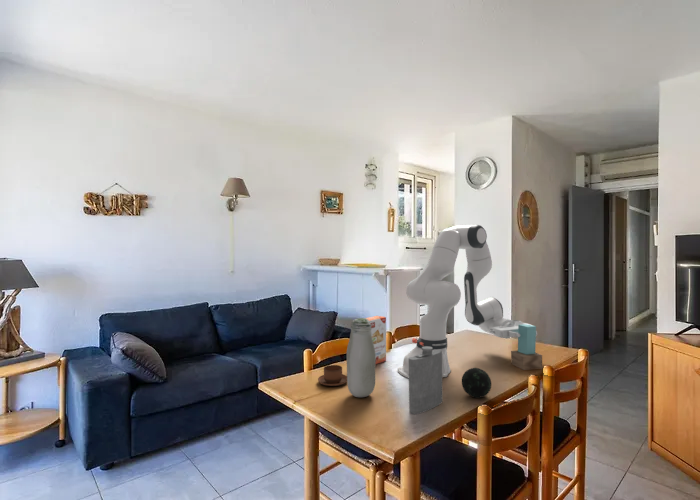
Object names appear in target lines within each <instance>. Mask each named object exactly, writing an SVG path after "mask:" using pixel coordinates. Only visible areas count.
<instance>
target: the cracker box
mask: <svg viewBox="0 0 700 500" xmlns="http://www.w3.org/2000/svg"><path fill="white" fill-rule="evenodd" d="M365 318H366V319H368V320H369V321H370V323H371V335H372V340H373V344H374V348H375V356H376V360H375V365H377V364H380V363H383V362H386V361H387V317H386V316H381V315H375V316H369V317H365Z"/></svg>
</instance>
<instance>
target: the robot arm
mask: <svg viewBox="0 0 700 500" xmlns="http://www.w3.org/2000/svg"><path fill="white" fill-rule="evenodd" d="M487 238H488V236H487V231H486V230H485V228H484V227H483V226H482V225H479V224H465V225H463V224H460V225H455V226H449V227H446V228H444V229H443V230H442V231H440V232H439V234H438V236H437V237H436V240H435V242H434V245H433V248H432V250H431V253H430V257H429V259H428V261H427V264H426V266H425V267H424V268H423V270H422V271H421V272H420V274H418V276H417V277H416V278H414V279H412V280H411V281H409V282H408V284H407V286H406V290H405V291H406V297H407V299H408V300H409V301H410V302H413V303H415V304H419V305H425V306H429V308H428V310H427V311H428V312H427V313H426V314H424V315H423V316H421V318H420V320H419V338H418V339H417V338H415V337H413V338H411V342H412V343H413V344H416V346H414V347H413V349H412V350H411V351H409V352H408V353H407V354H405V356H404V358H403V362H402V366H398V367H397V372H398V373H399V374H400V375H401V376H403V377H405V378H408V379H409V357H414V356H416V355H419V354H422V347H425V346H428V347H432V348H433V350H441V351H442V378H446V377H447V378H448V376H449V374H450V373H451V367H450V363H449V358H448V337H447V320H448V317H449V314H450V313H451V310H452V309H453V308H454V307H455V306H457V304H458V303H459V302H460V300H461V297H462V296H461V295H462V293H461V289H460V287H459V286H458V284H457V283H454V282H452V281H447V280H443V279H444V278H446V277H447V276H450V275H451V274H452V273H453V272H454V267H455V264H456V263H457V262H456V261H457V257H458V254H459V250H461V249H462V250H465V257H466V261H467V266H466V267H467V268H466V272H465V274H464V277H463V283H464V284H463V285H464V301H465V307H464V317H465V320H466V321H467V322H468V323H469V324H471V325H474V326H477V327H479V328H480V330H482V331H483V332H485V333H488V334H491V335H494V336H495V337H497V338H500V339H510V338H518V337H520V333H518V325H522V324H528V325H531V324H530V323H527V322H523V321H522V320H518V319H515V320H514V319H508V318H504V307H503V304H502V303H501V301H499V299H497V298H495V297H494V296H490V297H487V298H484V299H483V300H480V301H478V295H477V292H478V291H477V288H478V285H479V283H480V282H482V280H483V279H484V278H485V277H486V276H487V275H489V273H490V271H491V270H492V268H493V261H492V260H493V259H492V256H491V252H490V249H489V245H488V242H487ZM536 336H538V331H537V330H536Z"/></svg>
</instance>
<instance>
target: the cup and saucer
mask: <svg viewBox="0 0 700 500" xmlns="http://www.w3.org/2000/svg"><path fill="white" fill-rule="evenodd" d="M317 381H318V382H319V384H321V385H323V386H327V387H338V386H341V385H345V384H346V383H347V374H346V375H345V374H343V367H342V366H341V365H336V364H331V365H326V366H324V367H323V374H322V375H320V376H318V378H317Z"/></svg>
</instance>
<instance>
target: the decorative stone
mask: <svg viewBox="0 0 700 500" xmlns="http://www.w3.org/2000/svg"><path fill="white" fill-rule="evenodd" d="M491 380H492V379H491V377H490V375H489V374H488V373H487V371H485V370H483V369H482V368H479V367H471V368H468V369H466V371H464V373H463V374H462V375H461V386H462V389H463V390H464V392H465V393H466V394H467V395H469V396H470V397H472V398H477V399H480V398H483V397H486V396H487V395H489V392H490V391H491V390H492V389H491V388H492V381H491Z"/></svg>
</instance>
